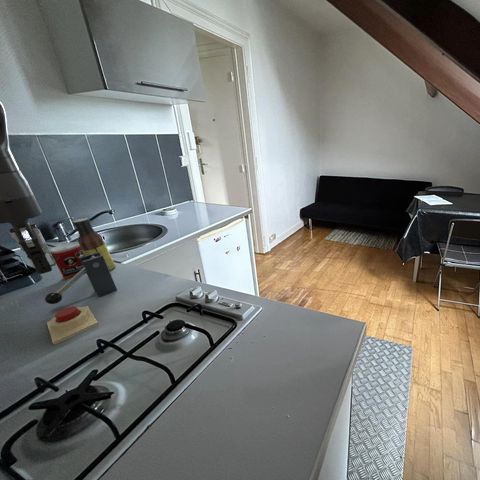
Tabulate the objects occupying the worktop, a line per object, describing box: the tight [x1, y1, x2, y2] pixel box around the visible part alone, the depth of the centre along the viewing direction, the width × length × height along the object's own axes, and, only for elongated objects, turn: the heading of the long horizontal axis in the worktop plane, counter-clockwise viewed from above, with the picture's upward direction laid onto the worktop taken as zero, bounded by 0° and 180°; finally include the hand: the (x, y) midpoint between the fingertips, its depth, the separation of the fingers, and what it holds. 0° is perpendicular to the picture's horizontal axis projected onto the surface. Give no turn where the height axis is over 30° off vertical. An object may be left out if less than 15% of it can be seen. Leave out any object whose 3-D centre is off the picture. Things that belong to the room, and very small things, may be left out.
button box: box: [46, 305, 100, 345], centre depth 63 cm, size 11×8×4 cm
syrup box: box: [28, 229, 57, 269], centre depth 97 cm, size 6×6×14 cm
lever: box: [44, 255, 95, 305], centre depth 71 cm, size 15×3×3 cm
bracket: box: [79, 252, 118, 298], centre depth 75 cm, size 11×9×13 cm
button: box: [54, 305, 80, 323], centre depth 62 cm, size 4×4×2 cm
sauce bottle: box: [72, 217, 116, 272], centre depth 87 cm, size 6×6×20 cm
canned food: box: [49, 241, 87, 281], centre depth 89 cm, size 8×8×11 cm
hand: (45, 271), depth 59 cm, fingers closed
